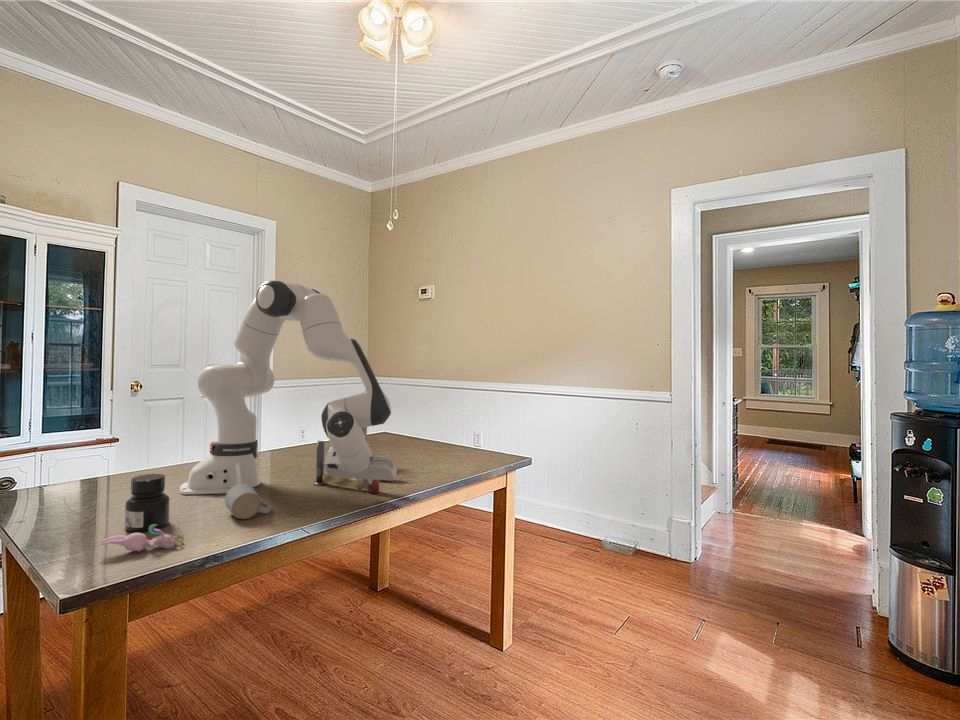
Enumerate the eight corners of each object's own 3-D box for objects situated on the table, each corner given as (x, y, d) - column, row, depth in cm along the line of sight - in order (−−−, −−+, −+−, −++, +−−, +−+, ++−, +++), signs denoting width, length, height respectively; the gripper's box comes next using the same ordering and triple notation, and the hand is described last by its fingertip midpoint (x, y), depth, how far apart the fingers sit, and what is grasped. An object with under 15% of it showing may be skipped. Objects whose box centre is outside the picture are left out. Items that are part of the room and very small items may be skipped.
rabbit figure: (182, 546, 109) (101, 546, 102) (187, 520, 110) (107, 518, 103) (179, 556, 104) (94, 557, 97) (185, 529, 104) (100, 528, 97)
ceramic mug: (231, 523, 120) (232, 493, 120) (224, 514, 126) (225, 485, 126) (275, 516, 127) (276, 487, 127) (266, 507, 133) (267, 480, 133)
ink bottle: (121, 524, 117) (122, 476, 117) (164, 516, 123) (165, 470, 123) (128, 536, 110) (129, 484, 110) (173, 527, 117) (174, 478, 116)
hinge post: (313, 486, 154) (314, 442, 154) (312, 482, 158) (313, 440, 158) (326, 485, 156) (327, 442, 156) (325, 481, 160) (326, 440, 159)
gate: (319, 485, 155) (320, 452, 155) (327, 482, 158) (328, 450, 158) (374, 494, 147) (375, 459, 147) (381, 490, 150) (382, 457, 150)
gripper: (394, 449, 135) (403, 474, 144) (325, 445, 137) (338, 470, 147) (388, 468, 130) (398, 493, 140) (317, 464, 133) (332, 489, 143)
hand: (367, 482), depth 144 cm, fingers closed
